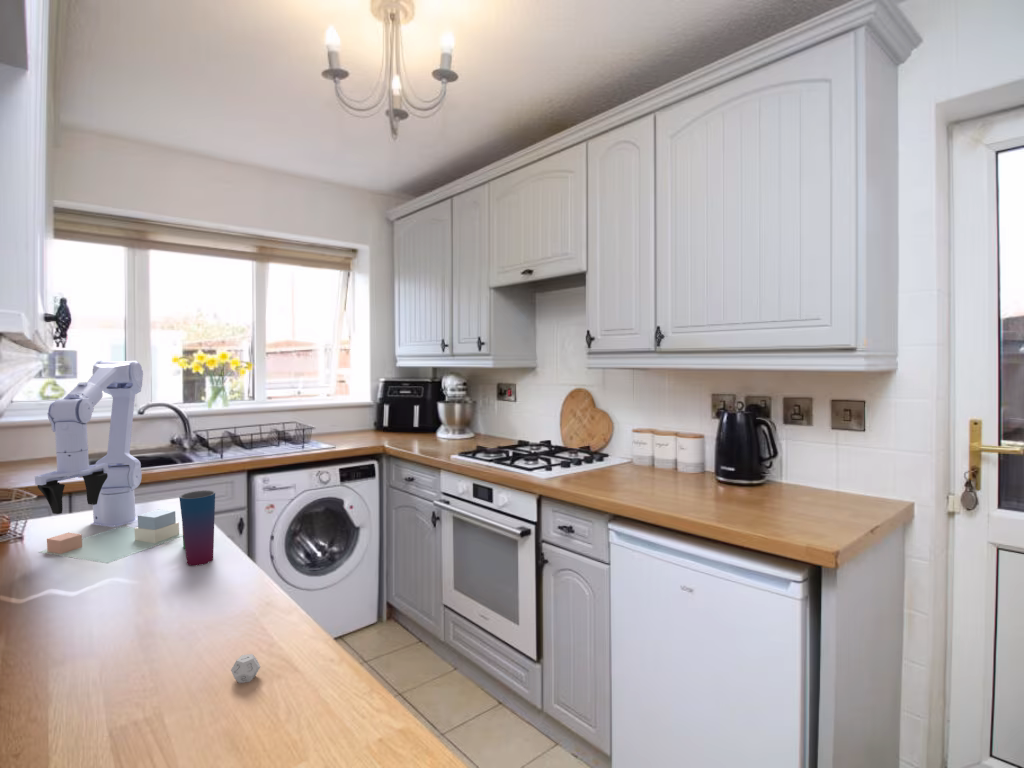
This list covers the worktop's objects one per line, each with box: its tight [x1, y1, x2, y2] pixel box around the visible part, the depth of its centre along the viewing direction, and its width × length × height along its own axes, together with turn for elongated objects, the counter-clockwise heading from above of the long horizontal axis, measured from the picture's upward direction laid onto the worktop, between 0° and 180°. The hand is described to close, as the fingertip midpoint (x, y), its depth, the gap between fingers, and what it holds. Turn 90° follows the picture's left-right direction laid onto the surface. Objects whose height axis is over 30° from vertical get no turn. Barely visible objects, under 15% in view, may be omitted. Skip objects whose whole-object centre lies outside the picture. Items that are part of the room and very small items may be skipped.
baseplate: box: [39, 525, 183, 564], centre depth 128 cm, size 22×19×1 cm
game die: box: [230, 653, 261, 684], centre depth 75 cm, size 4×4×3 cm
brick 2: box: [137, 509, 177, 530], centre depth 132 cm, size 6×6×3 cm
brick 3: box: [133, 521, 180, 543], centre depth 132 cm, size 6×6×3 cm
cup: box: [179, 489, 216, 567], centre depth 118 cm, size 7×7×15 cm
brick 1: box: [46, 532, 83, 554], centre depth 124 cm, size 4×4×3 cm
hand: (75, 508), depth 124 cm, fingers open, 7 cm apart
